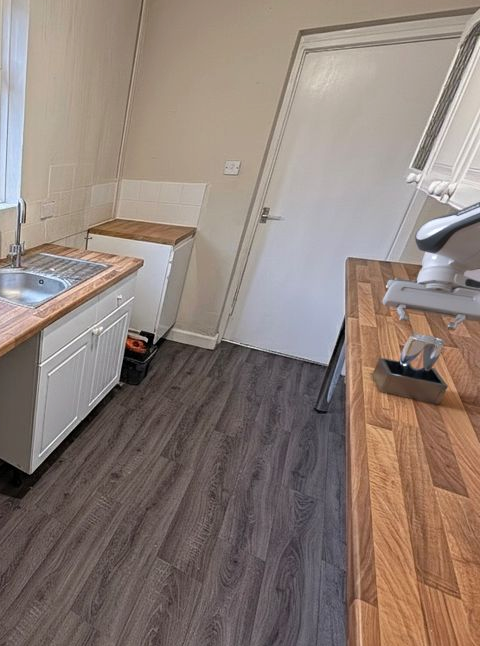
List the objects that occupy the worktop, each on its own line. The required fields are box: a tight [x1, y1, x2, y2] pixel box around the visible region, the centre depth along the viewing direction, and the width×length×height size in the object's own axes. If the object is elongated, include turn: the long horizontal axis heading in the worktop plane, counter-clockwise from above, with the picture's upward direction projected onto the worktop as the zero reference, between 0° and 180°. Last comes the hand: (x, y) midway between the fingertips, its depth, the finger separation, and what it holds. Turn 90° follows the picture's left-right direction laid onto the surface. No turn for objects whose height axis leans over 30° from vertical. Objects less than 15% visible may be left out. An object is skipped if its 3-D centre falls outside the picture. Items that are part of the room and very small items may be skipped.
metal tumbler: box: [396, 333, 446, 380], centre depth 114 cm, size 7×7×15 cm
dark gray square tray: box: [372, 357, 449, 405], centre depth 116 cm, size 12×12×6 cm
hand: (426, 324), depth 116 cm, fingers open, 8 cm apart
